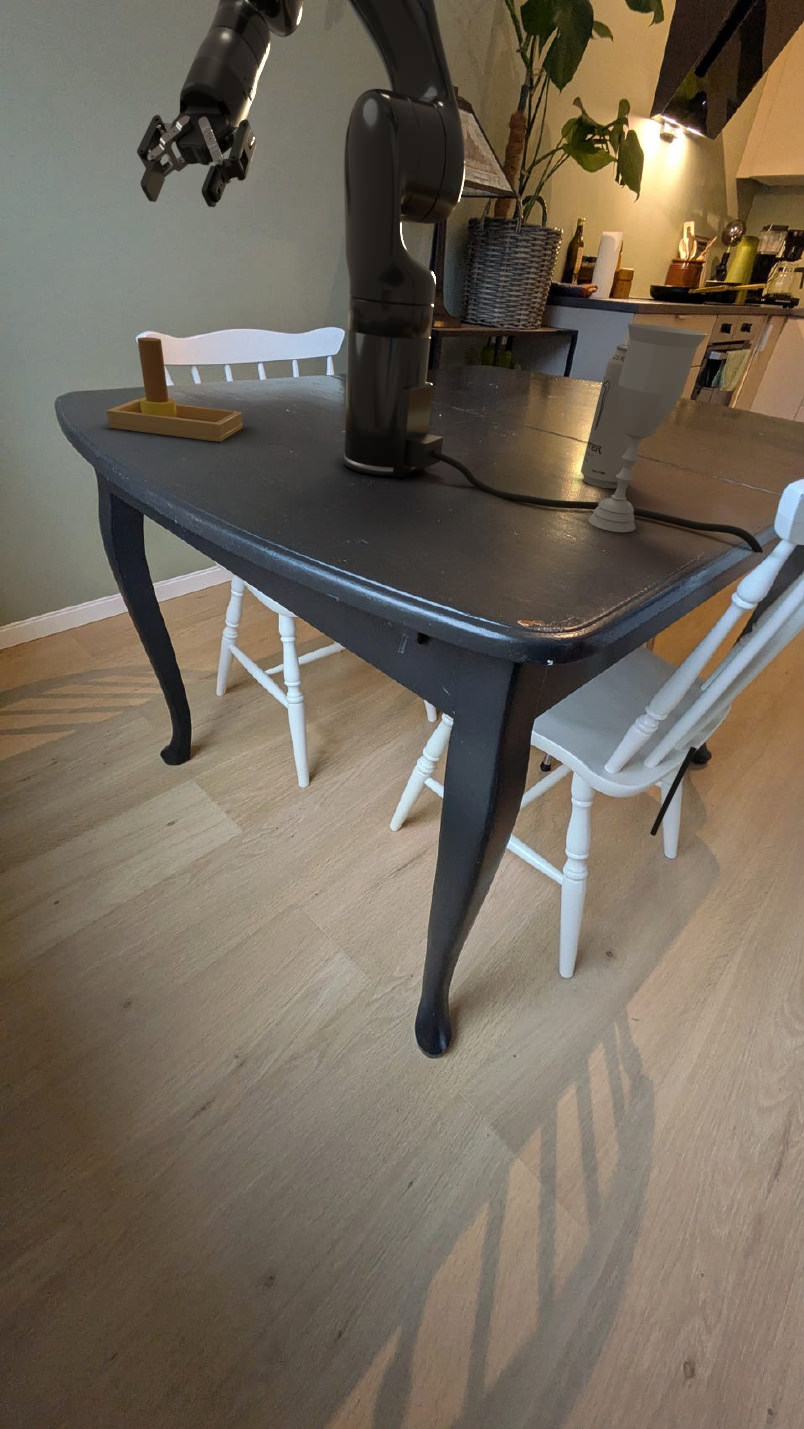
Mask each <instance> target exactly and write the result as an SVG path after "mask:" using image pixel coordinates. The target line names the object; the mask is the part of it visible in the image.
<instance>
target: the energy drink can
mask: <svg viewBox="0 0 804 1429" xmlns="http://www.w3.org/2000/svg"><path fill="white" fill-rule="evenodd" d="M628 345H629V344H617V345H616V349H615V351H614V352H613V353H612V355H611V356H610V357H609V359H608V360H607V362H606V366H605V370H604V374H603V379H602V383H601V386H600V390H599V394H598V399H597V403H596V407H595V410H594V415H593V418H592V419H593V420H592V424H591V427H590V431H589V436H588V439H587V444H586V447H585V452H584V456H583V460H582V464H581V469H580V473H581V474H582V476H583V478H582V480H583V482H585V483H586V484H588V485H590V486H593V487H597V488H600V489H601V488H602V489H617V486H618V479H617V477H616V475H618V474H619V473H620V472H621V470H622V468H623V459H622V456H624V455H625V453H626V451H627V449H628V447H629V443H630V436H628V435H627V434H626V433H625V432H623V427H622V421H621V415H620V408H619V388H618V384H619V380H620V376H621V372H622V368H623V364H624V360H625V356H626V353H627V349H628Z"/></svg>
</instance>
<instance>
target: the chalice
mask: <svg viewBox="0 0 804 1429" xmlns="http://www.w3.org/2000/svg"><path fill="white" fill-rule="evenodd" d="M627 328H628V334H629V341H628V344H627V345H628V349H627V353H626V356H625V360H624V364H623V368H622V372H621V376H620V380H619V384H618V388H619V408H620V415H621V421H622V427H623V432H625V433H626V434H627V435H628V436H630V443H629V447H628V449H627V451H626V453H625V455H624V456H622V459H623V468H622V470H621V472H620V473H619V474H618V475H616V477H617V479H618V486H617V488H615V489H616V490H615V492H614V493H613V494H611V497H605V498H604V499H602V500H600V503H599V504H598V505H599V506H598V507H597V508H596V509H595V510H594V509H593V512H592V514H591V515H590V516H588V518H587V521H588V523H589V524H590V525H592V526H594V527H596V528H598V529H600V530H604V531H609V532H614V533H629V532H633V531H635V530H636V524H635V517H636V516H635V515H634V514H633V511H634V509H633V507H634V506H633V504H632V503H631V502H630V501H627V497H626V490H627V488H628V485H629V484H630V483H631V482H632V481H634V477H633V474H632V472H633V471H632V470H633V469H632V468H633V467H634V466H635V464H636V463H637V462H638V461H639V457H638V449H639V446H640V444H641V442H642V440H643V439H647V438H650V437H653V435H654V434H655V433H656V431H657V430H658V429H659V427H661V425H662V424H663V423H664V421H665V420H666V419H668V417H669V415H670V414H671V413H672V411H673V410H674V408H675V406H676V405H677V404H678V402H679V400H680V398H681V397H682V396H683V395H684V394H683V393H684V390H685V388H686V384H687V381H688V378H689V375H690V372H691V368H692V366H693V362H694V360H695V356H696V352H697V350H698V348H699V346H700V345H701V344H702V342H703V341H704V340H705V339H706V337H708V333H706V332H701V331H697V330H694V329H693V330H692V329H687V328H686V329H685V328H679V327H672V326H666V325H655V324H647V323H646V324H645V323H628V324H627Z"/></svg>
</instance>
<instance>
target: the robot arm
mask: <svg viewBox="0 0 804 1429" xmlns="http://www.w3.org/2000/svg"><path fill="white" fill-rule="evenodd" d="M346 2H347V3H348V5H349V7H350V9H351V10H352V12H353V14H354V16H355V18H356V19H357V21H358V22H359V24H360V25H361V27H362V30H363V31H364V33H365V34H366V36H367V38H368V40H369V41H370V43H371V45H372V47H373V48H374V50H375V51H376V54H377V56H378V58H379V60H380V63H381V64H382V67H383V69H384V70H383V71H384V73H385V75H386V77H387V81H388V84H389V88H390V90H389V89H384V88H377V87H376V88H369V89H367V90H365V91H363V92H362V93H361V94H360V95H359V96H358V97H357V99H356V101H355V102H354V104H353V106H352V109H351V111H350V114H349V118H348V121H347V125H346V130H345V137H344V143H343V144H344V145H343V146H344V147H343V211H344V212H343V213H344V214H343V217H344V259H345V266H346V271H347V272H346V273H347V278H348V307H347V308H348V310H347V343H346V344H347V346H346V381H345V419H344V420H345V422H344V453H343V465H345V467H347V468H349V469H351V470H353V471H355V472H359V473H362V474H368V475H373V476H382V477H395V478H398V479H403V478H406V477H408V476H410V475H413V474H414V473H416V472H419V471H421V470H424V469H426V468H429V467H431V466H433V465H435V464H438V463H440V462H443V463H445V464H447V465H449V466H451V467H453V468H455V469H456V470H458V471H459V472H460V473H461V474H462V475H463V476H464V477H465V479H466V480H467V481H468V482H469V483H470V484H471V485H473V486H474V487H476V488H477V489H479V490H481V491H483V492H485V493H488V494H490V495H493V496H496V497H498V498H501V499H504V500H508V501H512V502H513V501H514V502H518V503H524V504H530V505H535V506H541V507H547V508H557V509H558V508H559V509H574V510H575V509H577V510H593V511H594V510H595V509H596V508H597V507H598V506H599V505H598V504H599V503H600V502H601V501H600V502H599V501H581V500H564V499H563V500H562V499H552V498H551V499H550V498H545V497H540V496H539V497H538V496H533V495H526V494H521V493H514V492H510V491H504V490H502V489H498V488H494V487H492V486H490V485H488V484H486V483H484V482H483V481H481V480H479V479H478V478H476V477H475V476H474V475H473V474H472V472H471V471H470V470H469V468H468V467H467V466H465V465H464V464H463V463H461V462H460V461H458V460H457V459H455V458H453V457H451V456H449V455H447V454H444V453H442V449H443V441H444V437H443V436H438V435H435V434H430V433H429V432H430V423H431V412H432V403H433V402H432V401H433V394H434V385H433V383H432V382H428V370H429V361H430V349H431V339H432V337H431V336H432V329H433V320H434V319H433V317H434V307H435V305H434V304H435V299H436V286H437V282H436V276H435V274H434V272H433V271H432V270H431V269H429V268H428V267H426V266H425V265H424V264H422V263H420V262H419V261H418V260H417V259H416V258H415V257H413V255H412V254H411V253H410V252H409V250H408V249H407V246H406V245H405V243H404V240H403V234H402V222H403V223H412V224H423V225H433V224H439V223H442V222H444V221H446V220H447V219H448V218H449V217H450V216H451V215H452V214H453V213H454V212H455V210H456V208H457V206H458V204H459V202H460V199H461V195H462V193H463V192H462V191H463V187H464V182H465V173H466V147H465V138H464V129H463V124H462V119H461V114H460V109H459V105H458V101H457V96H456V92H455V88H454V84H453V80H452V76H451V71H450V67H449V63H448V59H447V56H446V55H447V54H446V51H445V46H444V42H443V37H442V34H441V29H440V24H439V19H438V13H437V7H436V2H435V0H346ZM304 6H305V0H218V3H217V8H216V11H215V14H214V17H213V20H212V22H211V24H210V27H209V29H208V31H207V34H206V36H205V37H204V39H203V41H202V42H201V43H200V45H199V47H198V49H197V51H196V53H195V56H194V58H193V61H192V63H191V65H190V68H189V71H188V73H187V76H186V78H185V81H184V83H183V85H182V88H181V89H180V94H179V114H178V115H177V116H176V118H174V119H173V121H172V122H171V123H168V122H164V121H163V119H162V117H161V115H160V114H156V115H153V117H151V120H150V122H149V124H148V127H147V128H146V130H145V133H144V135H143V137H142V139H141V140H140V143H139V145H138V147H137V149H136V154H137V155H138V157H139V159H140V161H141V163H142V165H143V166H144V168H145V170H144V172H143V175H142V178H141V180H140V187H141V189H142V192H143V193H144V195H145V197H146V198H147V200H148V201H149V202H151V203H156V202H157V200H158V199H159V196H160V194H161V191H162V188H163V186H164V184H165V181H166V177H167V176H169V175H171V173H173V172H174V171H176V172H181V171H182V170H183V169H185V168H186V167H188V166H189V165H197V164H200V165H202V166H209V168H208V171H207V174H206V177H205V179H204V181H203V184H202V186H201V196H202V197H203V199H204V202H205V204H206V205H207V207H208V208H215V207H216V206H217V203H219V202H220V201H221V199H222V197H223V194H224V191H225V189H226V186H227V185H229V184H230V183H231V182H232V181H233V179H235V178H236V179H237V181H240V182H243V181H244V180H246V178H247V176H248V172H249V170H250V166H251V163H252V160H253V158H254V154H255V151H256V148H257V144H258V142H257V140H256V138H255V134H254V132H253V128H252V127H251V124H250V121H249V120H248V119H247V118H248V115H249V113H250V111H251V108H252V106H253V104H254V101H255V97H256V94H257V89H258V84H259V82H260V79H261V77H262V75H263V72H264V69H265V67H266V65H267V61H268V59H269V56H270V52H271V48H272V40H271V38H272V37H271V34H273V35H275V36H277V37H279V38H287V37H290V36H291V35H293V34H294V33H295V31H297V29H298V27H299V25H300V23H301V21H302V17H303V12H304ZM174 143H175V146H176V149H177V151H178V152H179V155H180V156H179V157H177V156H176V154H175V153H174V150H173V147H172V146H173V144H174ZM228 151H229V155H228V157H227V158H225V155H224V154H226V152H228ZM165 155H166V157H167V161H166V162H165V163H163V164H162V159H163V157H164V156H165ZM212 163H214V165H211V164H212ZM632 507H633V509H634V511H633V514H634V516H635V517H636V516H637V517H640V518H641V517H642V518H645V519H651V520H655V521H659V522H663V523H666V524H670V525H674V526H679V527H681V528H682V527H683V528H686V529H690V530H694V531H695V530H696V531H702V532H703V531H704V532H714V533H722V534H723V533H724V534H729V535H732V536H735V537H738V538H740V539H741V540H742V541H744V542H745V543H746V544H747V545H748V546H749V547H750V549H751V551H753V552H756V553H759V554H763V553H764V550H763V548H762V546H761V544H760V543H759V541H758V540H757V538H755V536H753V535H752V534H751V533H749V531H747V530H745V529H743V528H741V527H738V526H736V525H735V526H734V525H729V524H723V523H722V524H721V523H710V522H709V523H708V522H700V521H695V520H691V519H686V518H682V517H678V516H674V515H670V514H666V513H661V512H658V511H653V510H648V509H644V508H639V507H634V506H632ZM697 750H698V748H697V747H694V746H690V747H689V749H688V751H687V753H686V755H685V757H684V759H683V761H682V763H681V765H680V767H679V769H678V771H677V774H676V776H675V778H674V779H673V782H672V784H671V786H670V788H669V790H668V792H667V794H666V796H665V799H664V801H663V803H662V805H661V808H660V809H659V811H658V813H657V815H656V818H655V820H654V823H653V825H652V827H651V830H650V832H649V833H650V835H651V836H653V837H655V836H656V835H657V833H658V831H659V828H660V827H661V824H662V822H663V820H664V818H665V815H666V813H667V811H668V809H669V806H670V805H671V802H672V801H673V798H674V797H675V794H676V792H677V790H678V788H679V787H680V784H681V782H682V780H683V778H684V776H685V774H686V772H687V770H688V768H689V766H690V764H691V762H692V760H693V758H694V756H695V754H696V752H697Z"/></svg>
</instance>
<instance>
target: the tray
mask: <svg viewBox="0 0 804 1429" xmlns="http://www.w3.org/2000/svg"><path fill="white" fill-rule="evenodd" d="M140 399H141V398H136V399H134V400H133V399H132V400H131V401H128V402H125V403H123V404H120V405H117V406H115V407H111V408H109V409H107V410H106V417H107V422H108V427H109V428H110V429H117V430H123V431H130V432H132V431H133V432H141V433H148V434H155V435H162V436H171V437H179V438H186V439H187V438H188V439H194V440H202V441H210V442H217V443H221V442H222V441H224V440H226V439H227V438H229V437H231V436H233V435H234V434H235V433H237V432H239V431H240V430H241V429H243V415H242V411H235V410H229V409H220V408H213V407H204V406H197V405H187V404H179V403H175V404H176V413H177V418H175V417H167V416H159V415H151V414H143V413H142V411H141V404H140Z"/></svg>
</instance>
